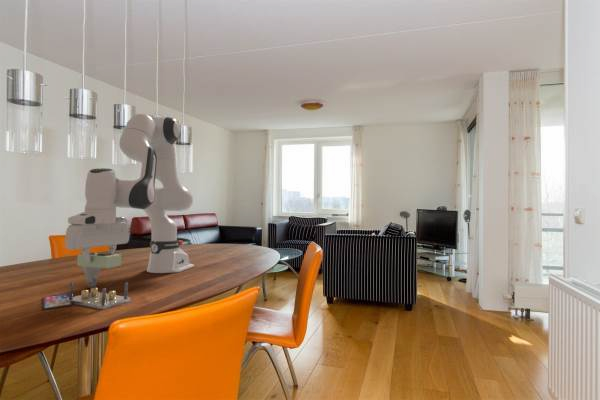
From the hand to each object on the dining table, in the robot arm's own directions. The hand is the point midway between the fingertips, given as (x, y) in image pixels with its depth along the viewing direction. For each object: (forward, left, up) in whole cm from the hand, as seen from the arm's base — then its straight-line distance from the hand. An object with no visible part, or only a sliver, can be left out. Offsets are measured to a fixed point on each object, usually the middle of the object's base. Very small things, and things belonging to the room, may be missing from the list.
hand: (99, 260), depth 110 cm
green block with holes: (0, 0, -2) cm, 2 cm away
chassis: (0, 0, -13) cm, 13 cm away
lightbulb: (-10, -17, -14) cm, 24 cm away
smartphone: (+6, -11, -14) cm, 19 cm away
